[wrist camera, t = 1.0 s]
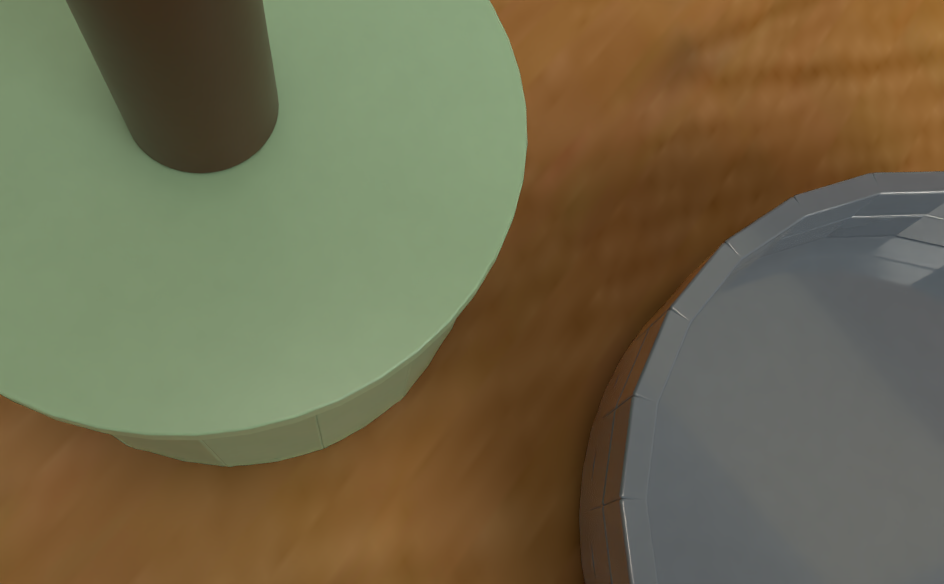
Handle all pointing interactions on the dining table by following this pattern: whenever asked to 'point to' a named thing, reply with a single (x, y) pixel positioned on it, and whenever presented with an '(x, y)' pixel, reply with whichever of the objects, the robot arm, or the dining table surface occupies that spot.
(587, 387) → the dining table surface
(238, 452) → the green cylinder
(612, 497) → the pan
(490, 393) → the dining table surface
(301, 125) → the lid
